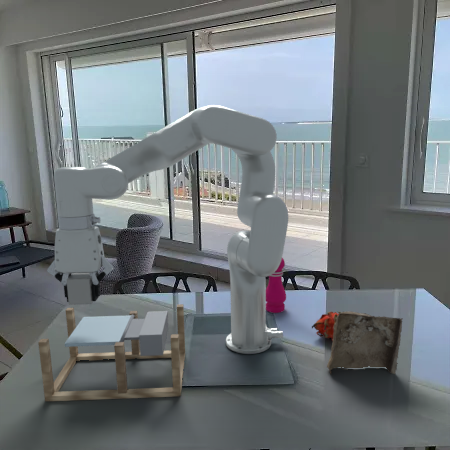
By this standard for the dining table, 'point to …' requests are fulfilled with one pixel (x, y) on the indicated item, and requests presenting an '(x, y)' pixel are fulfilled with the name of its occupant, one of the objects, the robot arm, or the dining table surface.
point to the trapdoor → (123, 331)
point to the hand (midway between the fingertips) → (83, 298)
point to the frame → (119, 355)
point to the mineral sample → (365, 341)
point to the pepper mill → (276, 291)
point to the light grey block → (79, 289)
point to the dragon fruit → (326, 325)
